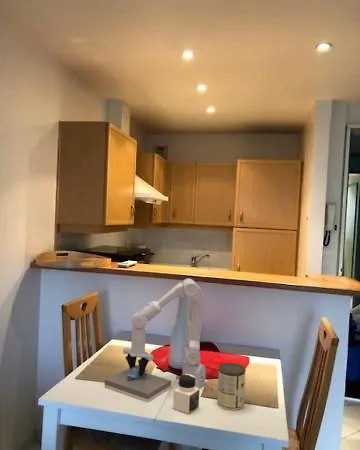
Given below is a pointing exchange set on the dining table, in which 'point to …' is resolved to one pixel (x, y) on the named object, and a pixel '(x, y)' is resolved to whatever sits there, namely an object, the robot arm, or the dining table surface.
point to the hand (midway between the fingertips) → (137, 373)
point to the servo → (135, 373)
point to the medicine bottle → (186, 394)
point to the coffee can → (231, 386)
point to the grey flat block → (138, 385)
